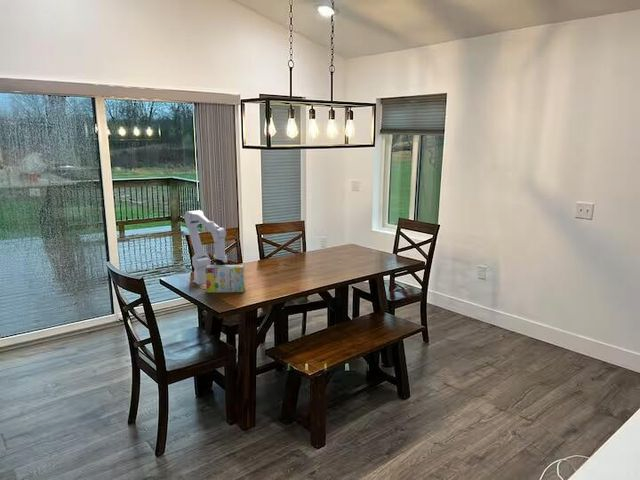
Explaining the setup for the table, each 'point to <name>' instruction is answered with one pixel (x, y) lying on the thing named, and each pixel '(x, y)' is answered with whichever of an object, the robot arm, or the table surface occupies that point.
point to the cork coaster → (203, 286)
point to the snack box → (225, 278)
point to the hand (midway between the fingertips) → (220, 272)
